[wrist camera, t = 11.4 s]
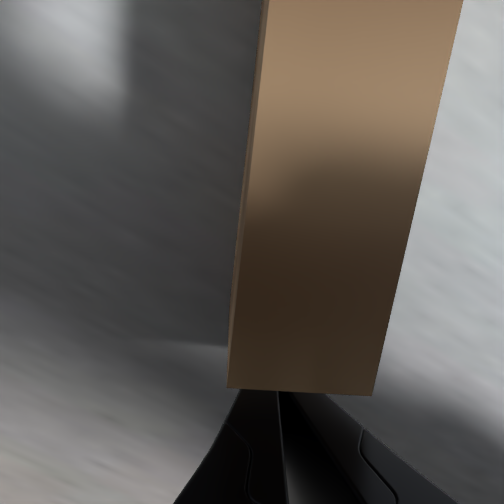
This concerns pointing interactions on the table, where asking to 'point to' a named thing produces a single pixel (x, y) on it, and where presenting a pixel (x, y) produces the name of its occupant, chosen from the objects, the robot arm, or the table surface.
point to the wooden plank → (331, 186)
